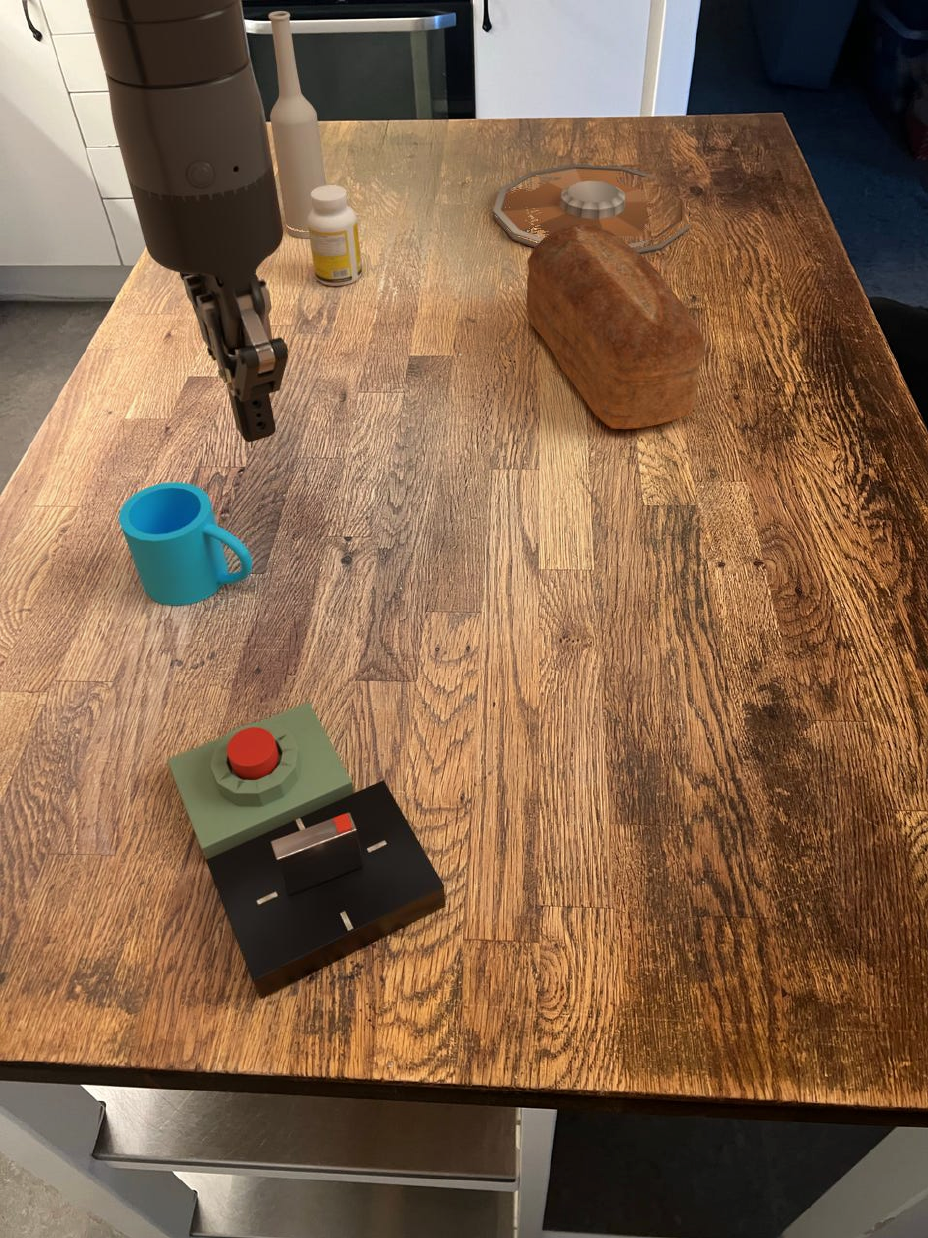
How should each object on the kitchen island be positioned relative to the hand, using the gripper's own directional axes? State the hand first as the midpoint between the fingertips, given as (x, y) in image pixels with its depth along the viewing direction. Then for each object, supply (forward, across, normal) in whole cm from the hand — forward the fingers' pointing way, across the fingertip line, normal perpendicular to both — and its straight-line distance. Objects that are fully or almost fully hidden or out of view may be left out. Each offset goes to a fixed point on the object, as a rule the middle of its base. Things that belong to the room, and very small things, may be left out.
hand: (257, 432), depth 63 cm
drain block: (+27, -7, +7) cm, 29 cm away
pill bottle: (+27, +67, -31) cm, 79 cm away
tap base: (+27, -18, +6) cm, 33 cm away
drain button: (+23, -7, +7) cm, 25 cm away
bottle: (+27, +83, -33) cm, 93 cm away
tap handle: (+24, -18, +6) cm, 31 cm away
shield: (+27, +66, -72) cm, 101 cm away
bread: (+27, +30, -50) cm, 64 cm away
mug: (+27, +18, +4) cm, 33 cm away
